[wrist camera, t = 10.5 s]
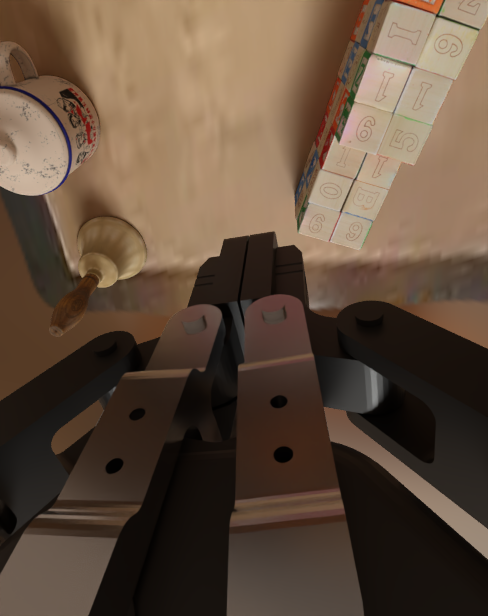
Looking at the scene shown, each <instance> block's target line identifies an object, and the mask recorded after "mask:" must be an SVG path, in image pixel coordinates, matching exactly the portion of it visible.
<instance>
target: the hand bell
mask: <svg viewBox="0 0 488 616" xmlns="http://www.w3.org/2000/svg"><path fill="white" fill-rule="evenodd" d="M77 246H78V251H79V254H80V256H81V258H80V260H79V263H78V270H79V273H80V275H81V277H82V278H83V279H82V280H81V282H80V283H79V285H78V287H77V288H76V289H75V290H73V291H72V292H70V293H68V294H67V295H66V296H64V297H63V298H62V299H61V300H60V302H59V303H58V304H57V306H56V307H55V309H54V311H53V315H52V320H51V325H50V328H49V331H50V333H51V334H52V335H54V336H57V337H59V336H61V335H63V334H64V333H65V332H66V331H68V330H70V329H71V328H73V327H74V326H76V325H77V324H78V323H79V321H80V320H81V319H82V317H83V316H84V314H85V312H86V309H87V306H88V300H89V297H90V295H91V294H92V292H93V291H94V290H95V288H96V287H101V288H102V287H108V286H111V285H112V284H114V283H115V282H116V281H117V279H118V280H119V279H126V278H129V277H132V276H134V275H136V274H137V273H138V272H139V271H140V270H141V269H142V268H143V267H144V264H145V262H146V258H147V251H146V246H145V243H144V241H143V239H142V237H141V235H140V234H139V233H138V232H137V231H136V230H135V229H134V228H133V227H132V226H131V225H129V224H128V223H126V222H124V221H122V220H120V219H117V218H114V217H97V218H94V219H91V220H89V221H88V222H86V223H85V224H84V225H83V226H82V228H81V229H80V231H79V233H78V238H77Z"/></svg>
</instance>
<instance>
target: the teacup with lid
mask: <svg viewBox="0 0 488 616" xmlns="http://www.w3.org/2000/svg"><path fill="white" fill-rule="evenodd" d="M10 54H11V55H12V56H13V57H14V58H15V59H16V60H17V62H18V63H19V65H20V67H21V70H22V72H23V75H24V78H25V81H22V82H19V83H16V82H15V79H14V76H13V73H12V70H11V66H10ZM0 84H1V86H0V186H1V187H3V188H5V189H7V190H9V191H12V192H15V193H18V194H22V195H43V194H47V193H49V192H52V191H54V190H55V189H57V188H58V187H59V186H61V185H62V183H63V182H64V181H65V180H66V178H67V176H68V175H69V174H71V173H72V172H73V171H74V170H75V169H77V168H78V167H79V166H80V165H82V164H83V163H84V162H85V161H86V160H88V159H89V158H90V157H91V156H92V155H93V153H94V152H95V150H96V148H97V146H98V143H99V139H100V124H99V119H98V116H97V113H96V111H95V109H94V107H93V105H92V103H91V102H90V100H89V99H88V97H87V96H86V95H85V94H84V93H83V92H82V91H81V90H80V89H79V88H78V87H77V86H75V85H74V84H72V83H71V82H69V81H67V80H65V79H62V78H60V77H56V76H48V75H46V76H38V74H37V71H36V68H35V66H34V63H33V61H32V59H31V58H30V56H29V54H28V53H27V52H26V51H25V50H24V49H23V48H22V47H21V46H20V45H19V44H17V43H15V42H11V41H6V42H0Z"/></svg>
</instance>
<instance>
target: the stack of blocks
mask: <svg viewBox="0 0 488 616" xmlns="http://www.w3.org/2000/svg"><path fill="white" fill-rule="evenodd" d="M487 17H488V0H364V2H363V5H362V8H361V11H360V13H359V16H358V19H357V22H356V25H355V27H354V30H353V33H352V35H351V39H350V41H349V44H348V46H347V49H346V52H345V54H344V57H343V60H342V63H341V65H340V68H339V71H338V74H337V75H338V78H337V81H336V83H335V86H334V89H333V92H332V94H331V97H330V100H329V103H328V105H327V109H326V113H325V116H324V118H323V121H322V124H321V127H320V130H319V132H318V135H317V138H316V141H314V142H313V145H312V148H311V151H310V153H309V156H308V159H307V162H306V165H305V167H304V172H303V174H302V177H301V180H300V182H299V185H298V188H297V191H296V194H295V217H296V220H297V230H298V233H299V234H303V235H306V236H310V237H313V238H317V239H320V240H323V241H327V242H328V241H330V242H332V243H336V244H339V245H342V246H346V247H349V248H353V249H356V250H360V249H361V248H362V245H363V243H364V241H365V239H366V237H367V234H368V232H369V230H370V228H371V226H372V223H373V221H374V220H375V218H376V216H377V214H378V212H379V210H380V208H381V206H382V204H383V201H384V199H385V197H386V195H387V193H388V190H389V188H390V187H391V185H392V183H393V181H394V178H395V176H396V174H397V172H398V170H399V167H400V165H401V163H402V162H403V163H406V164H409V165H415V163H416V161H417V159H418V156H419V154H420V152H421V150H422V148H423V146H424V144H425V142H426V140H427V138H428V136H429V134H430V131H431V129H432V126H433V123H434V121H435V119H436V117H437V115H438V113H439V111H440V109H441V107H442V105H443V102H444V100H445V98H446V96H447V94H448V92H449V90H450V88H451V86H452V83H453V81H454V80H455V79H456V78H457V77H458V75H459V73H460V71H461V69H462V67H463V65H464V63H465V60H466V58H467V56H468V54H469V52H470V50H471V48H472V46H473V44H474V42H475V40H476V38H477V36H478V34H479V30H480V29H481V28H482V27H483V26H484V24H485V21H486V19H487Z"/></svg>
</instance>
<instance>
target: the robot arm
mask: <svg viewBox="0 0 488 616" xmlns="http://www.w3.org/2000/svg"><path fill="white" fill-rule="evenodd" d="M194 286H195V287H194V288H193V291H192V294H191V297H190V300H189V303H188V307H187V308H185V309H183V310H181V311H179V312H177V313H176V314H175V315H173V316H172V317H171V318H170V320H169V321H168V323H167V325H166V327H165V329H164V331H163V333H162V335H161V337H158V338H156V339H153V340H150V341H147V342H144V343H141V344H138V345H137V343H136V341H135V339H134V337H133V336H132V334H130V333H128V332H125V331H114V332H109V333H106V334H103V335H100V336H98V337H97V338H94V339H93V340H91V341H90V342H88V343H87V344H85V345H84V346H82V347H81V348H80V349H78V350H76V351H75V352H73V353H72V354H70V355H69V356H67V357H66V358H65V359H63V360H61V361H60V362H58V363H57V364H55V365H54V366H52V367H51V368H49V369H48V370H46V371H45V372H43V373H42V374H40V375H39V376H37V377H36V378H34V379H33V380H31V381H30V382H28V383H27V384H25V385H24V386H22V387H21V388H19V389H18V390H16V391H15V392H13V393H12V394H10V395H9V396H7V397H6V398H4V399H3V400H1V401H0V616H488V559H487V558H485V557H484V556H483V555H482V554H481V553H480V552H479V551H478V550H476V549H475V548H474V547H473V546H472V545H471V544H470V543H468V542H467V541H466V540H465V539H464V538H463V537H462V536H460V535H459V534H458V533H457V532H456V531H455V530H454V529H453V528H451V527H450V526H449V525H448V524H447V523H446V522H445V521H443V520H442V519H441V518H440V517H439V516H438V515H437V514H436V513H434V512H433V511H432V510H431V509H430V508H428V506H426V505H425V504H424V503H423V502H422V501H421V500H420V499H418V498H417V497H416V496H415V495H414V494H413V493H412V492H411V491H409V490H408V489H407V488H406V487H405V486H404V485H402V484H401V483H400V482H399V481H398V480H397V479H396V478H395V477H393V476H392V475H391V474H390V473H389V472H388V471H387V470H385V469H384V468H383V467H382V466H381V465H379V464H378V463H377V462H375V461H374V460H372V459H371V458H369V457H368V456H366V455H364V454H363V453H361V452H359V451H357V450H355V449H353V448H350V447H347V446H345V445H342V444H339V443H335V442H331V441H330V438H329V432H328V427H327V422H326V417H325V411H324V407H329V408H334V409H340V410H345V411H346V413H347V416H348V418H349V420H350V421H351V422H352V423H353V424H354V425H355V426H356V427H358V428H359V429H360V430H362V431H363V432H364V433H365V434H367V435H368V436H369V437H371V438H372V439H373V440H374V441H376V442H377V443H378V444H379V445H381V446H382V447H383V448H385V449H386V450H387V451H389V452H390V453H391V454H392V455H394V456H395V457H396V458H398V459H399V460H400V461H401V462H403V463H404V464H405V465H407V466H408V467H409V468H410V469H412V470H413V471H414V472H416V473H417V474H418V475H419V476H421V477H422V478H423V479H424V480H426V481H427V482H428V483H430V484H431V485H432V486H433V487H435V488H436V489H437V490H439V491H440V492H441V493H442V494H444V495H445V496H446V497H448V498H449V499H450V500H452V501H453V502H454V503H455V504H457V505H458V506H459V507H460V508H462V509H463V510H464V511H466V512H467V513H468V514H469V515H471V516H472V517H473V518H475V519H476V520H477V521H478V522H480V523H481V524H482V525H484V526H485V527H486V528H487V529H488V349H487V348H484V347H483V346H480V345H478V344H476V343H474V342H472V341H470V340H467V339H465V338H463V337H461V336H458V335H457V334H454V333H452V332H450V331H448V330H446V329H444V328H441V327H439V326H437V325H435V324H433V323H431V322H428V321H426V320H424V319H422V318H420V317H417V316H415V315H413V314H411V313H409V312H407V311H404V310H402V309H400V308H398V307H396V306H394V305H392V304H389V303H386V302H381V301H362V302H358V303H354V304H351V305H349V306H347V307H346V308H344V309H343V310H342V311H341V312H340V313H339V314H338V316H337V318H332V317H325V316H321V315H318V314H316V313H314V312H312V311H311V310H310V309H309V298H308V291H307V284H306V277H305V271H304V264H303V257H302V252H301V251H300V250H299V249H298V248H297V247H296V246H295V245H291V246H284V247H278V244H277V239H276V234H275V232H267V233H261V234H254V235H250V237H249V236H242V237H236V238H229V239H224V241H223V245H222V249H221V253H220V256H217V257H211V258H209V259H208V260H207V261H206V262H205V263H204V264H203V265H202V266H201V267H200V269H199V272H198V275H197V279H196V281H195V285H194ZM97 400H99V402H100V403H101V405H102V407H103V409H104V411H103V413H102V415H101V417H100V419H99V421H98V423H97V425H96V426H95V427H94V428H93V429H91V430H90V431H89V432H88V433H86V434H85V435H84V436H83V437H81V438H80V439H79V440H77V441H76V442H75V443H74V444H72V445H71V446H70V447H69V448H67V449H66V450H65V451H64V452H62V453H60V454H57V455H55V454H54V452H53V451H52V448H51V441H52V438H53V436H54V435H55V433H56V432H57V431H58V430H59V429H60V428H61V427H62V426H64V425H65V424H66V423H68V422H69V421H70V420H72V419H73V418H74V417H76V416H77V415H78V414H79V413H81V412H82V411H84V410H85V409H86V408H88V407H89V406H90V405H92V404H93V403H94V402H96V401H97Z"/></svg>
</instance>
